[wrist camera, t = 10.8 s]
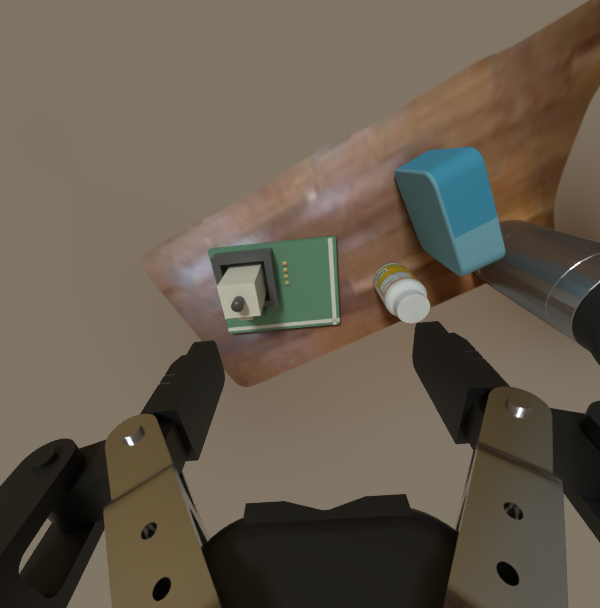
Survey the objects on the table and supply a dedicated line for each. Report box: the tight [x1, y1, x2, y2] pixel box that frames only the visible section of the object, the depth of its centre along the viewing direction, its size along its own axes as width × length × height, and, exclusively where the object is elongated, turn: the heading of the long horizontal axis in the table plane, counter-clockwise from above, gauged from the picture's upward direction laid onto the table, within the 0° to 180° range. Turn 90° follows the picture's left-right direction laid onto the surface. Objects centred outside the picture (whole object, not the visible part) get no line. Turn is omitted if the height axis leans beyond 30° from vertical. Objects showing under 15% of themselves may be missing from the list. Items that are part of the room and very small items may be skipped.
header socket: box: [211, 248, 290, 316], centre depth 40 cm, size 10×9×2 cm
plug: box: [217, 261, 267, 321], centre depth 37 cm, size 4×6×10 cm
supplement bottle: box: [373, 263, 430, 323], centre depth 38 cm, size 5×5×10 cm
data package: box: [395, 147, 505, 277], centre depth 32 cm, size 12×4×12 cm, turn 30°
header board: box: [208, 236, 340, 334], centre depth 42 cm, size 18×14×1 cm
